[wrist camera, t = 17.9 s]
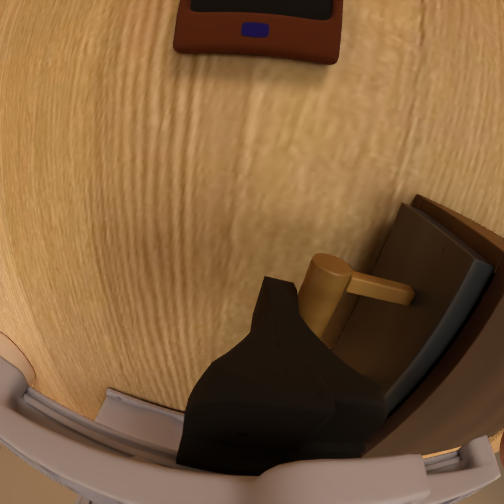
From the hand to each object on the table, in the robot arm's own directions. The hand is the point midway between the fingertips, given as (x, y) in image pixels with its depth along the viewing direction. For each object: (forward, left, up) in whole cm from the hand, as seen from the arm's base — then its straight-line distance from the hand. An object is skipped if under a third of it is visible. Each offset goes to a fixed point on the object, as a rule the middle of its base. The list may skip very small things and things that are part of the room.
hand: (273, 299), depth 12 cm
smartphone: (-4, +17, -3) cm, 18 cm away
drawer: (+9, 0, -2) cm, 9 cm away
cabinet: (+13, 0, -3) cm, 13 cm away
